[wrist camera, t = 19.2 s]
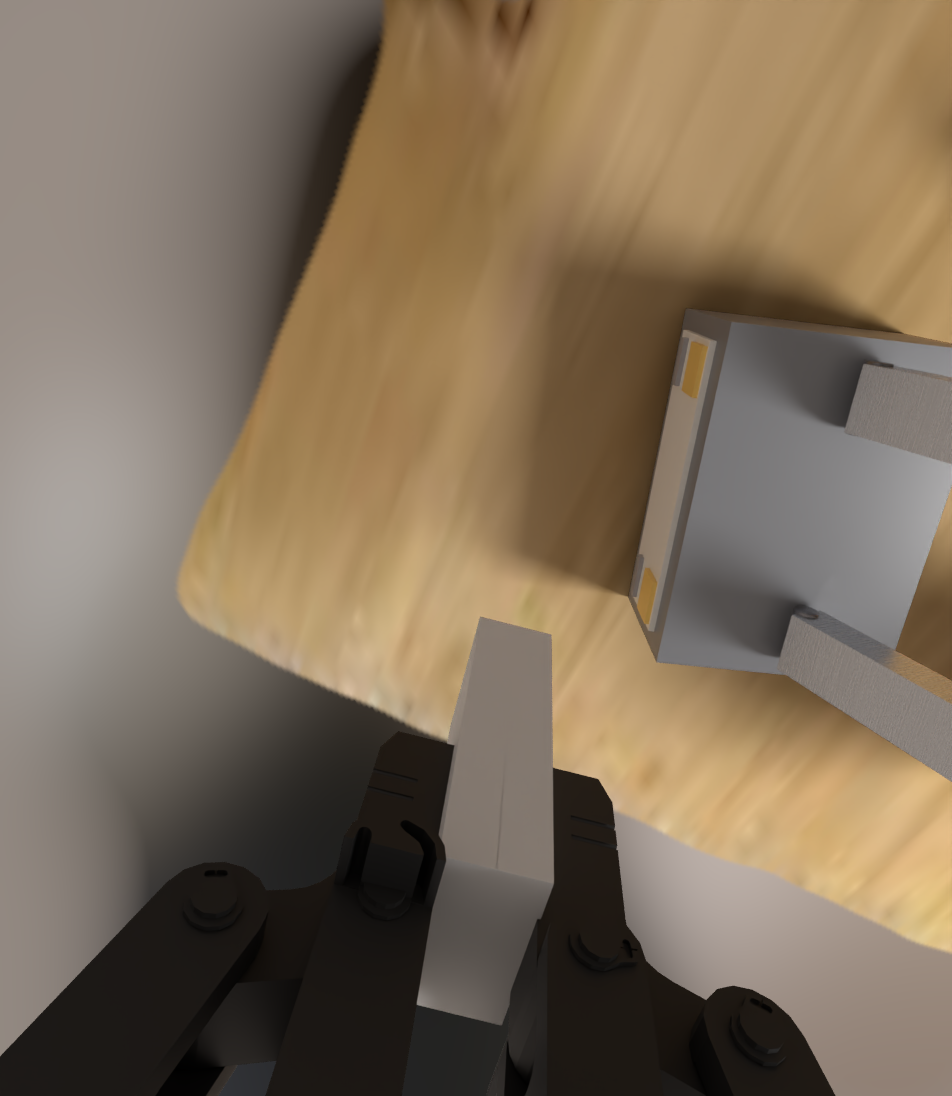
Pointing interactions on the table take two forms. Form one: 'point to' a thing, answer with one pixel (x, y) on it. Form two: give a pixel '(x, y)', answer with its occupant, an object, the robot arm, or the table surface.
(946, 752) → the lever
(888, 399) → the lever
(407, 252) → the table surface
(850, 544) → the console
